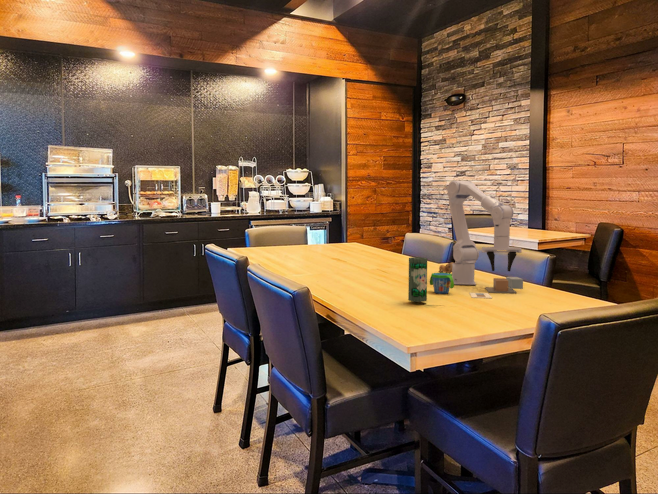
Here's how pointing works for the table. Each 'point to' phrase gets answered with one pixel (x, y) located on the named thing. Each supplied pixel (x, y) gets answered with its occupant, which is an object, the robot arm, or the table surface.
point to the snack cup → (441, 282)
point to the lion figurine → (446, 268)
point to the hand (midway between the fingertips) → (501, 271)
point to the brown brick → (500, 284)
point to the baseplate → (492, 290)
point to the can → (417, 279)
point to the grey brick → (515, 282)
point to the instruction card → (480, 295)
